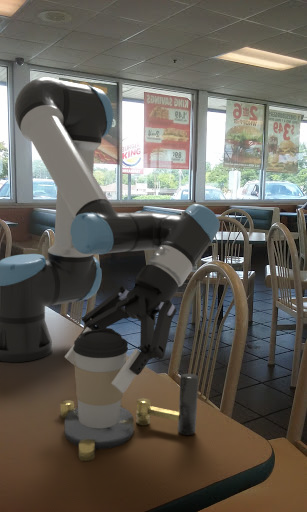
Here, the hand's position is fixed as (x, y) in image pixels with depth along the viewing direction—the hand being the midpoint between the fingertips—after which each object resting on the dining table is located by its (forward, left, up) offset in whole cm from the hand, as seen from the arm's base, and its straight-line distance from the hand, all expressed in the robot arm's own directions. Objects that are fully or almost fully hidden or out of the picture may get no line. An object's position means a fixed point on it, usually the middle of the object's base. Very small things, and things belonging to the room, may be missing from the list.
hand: (92, 374), depth 78 cm
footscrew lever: (+2, +13, -10) cm, 16 cm away
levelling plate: (0, +2, -10) cm, 11 cm away
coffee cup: (-1, +2, -9) cm, 9 cm away
